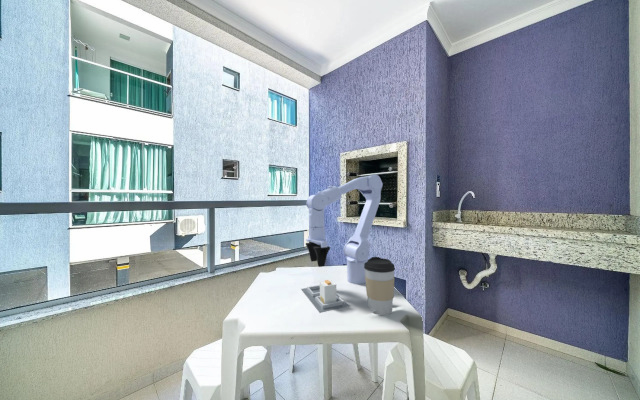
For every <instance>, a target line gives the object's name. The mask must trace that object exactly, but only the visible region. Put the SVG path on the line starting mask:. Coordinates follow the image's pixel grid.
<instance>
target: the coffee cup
mask: <svg viewBox="0 0 640 400" xmlns="http://www.w3.org/2000/svg"><path fill="white" fill-rule="evenodd" d="M364 268H365V281H366V283H365V289H366V290H365V291H366V296H367V307H368V308H369V310H371V311H373V312H372V314H375V315H378V316H387V315H390V314H391V313H392V312H393V300H394V295H395V294H394V293H395V292H394V291H395V290H394V289H395V270H396V267H395V264H394V263H393V262H392V261H391V260H390V259H387V258H381V257H379V256H372V257H371V258H369V259H368V261H367V262H366V263H365V264H364Z"/></svg>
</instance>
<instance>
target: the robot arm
mask: <svg viewBox="0 0 640 400" xmlns="http://www.w3.org/2000/svg"><path fill="white" fill-rule="evenodd" d="M383 184H384V183H383V182H382V179H381V177H380V176H379V175H378V174H376V173H375V174H370V175H367V176H359V177H357V178H353V179H352V180H349V181H348V182H346V183H344V184H342V185H340V186H338V187H337V186H335V185H333V186H332V185H329V186H327V188H326V189H323V190H322V191H321V190H319V191H317V193H316V194H311V195H309V196H308V198H307V199H306V201H305V206H306V207H307V209H308V232H309V233H308V238H306V239H305V241H306V242H305V245H306V248H307V251H308V253H309V258H310V261H311V262H316V263H317V266H318V268H321V267H325V265H326V261H327V257H328V253H329V252H330V250H331V247H330V246H328V241H327V240H326V238H325V234H326V232H325V208H326V207H327V206H329V205H331V204H333V203H335V202H337V201H340V200H341V198H342V195H345V194H347V193H350V192H351V191H354V190H358V191H359V192H360V193H361V194H362V196H363V197H364V198H365V203H364V206H363V207H362V208H363V209H362V210H361V214H360V218H359V220H358V223H357V226H356V228H355V231H354V234H353V235H352V236H350V237H349V238H348V241H347V242H346V243H345V244H344V246H343V254H344V256H345V257H346V266H347V267H346V269H347V271H346V273H347V274H346V275H347V276H346V277H347V282H348V283H350V284H351V285H352V284H353V285H354V284H355V285H362V284H366V281H365V268H364V264H365V263H366V262H367V261H368V260H369V259H368V258H369V254H370V251H369V250H370V246H371V245H370V242H369V241H368V238H369V234H370V231H371V229H372V226H373V223H374V220H375V217H376V215H377V212H378V208H379V205H380V204H381V198H382V195H381V193H382V189H383Z"/></svg>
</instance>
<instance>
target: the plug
mask: <svg viewBox="0 0 640 400" xmlns="http://www.w3.org/2000/svg"><path fill="white" fill-rule="evenodd" d="M319 285H320V300H321V302H322V303H323V304H328V303H333V302H337V296H336V294H337V284H336V283H335V282H334V281H332V280H329V279H326V280H324V281H319Z"/></svg>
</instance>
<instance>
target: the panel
mask: <svg viewBox="0 0 640 400" xmlns="http://www.w3.org/2000/svg"><path fill="white" fill-rule="evenodd" d="M300 290H301V291H302V293H303V294H304V295H305V296H306V297H307V299H308V300H309V302H311V304H312V305H313V306H314V307H315V308H316V310H317V311H318V313H319V314H321V313H325V312H326V313H327V312H329V311H333V310H334V311H335V310H339V309H344V308H347V307H351V305H350V304H349V303H348V302H346V301H345V300H344V299H343V298H342V297H340V296H339V295H338V293H336V296H337V302H333V303H328V304H323V303H322V302H321V300H320V284H318V285H312V286H311V285H310V286H307V287H304V288H300Z"/></svg>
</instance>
